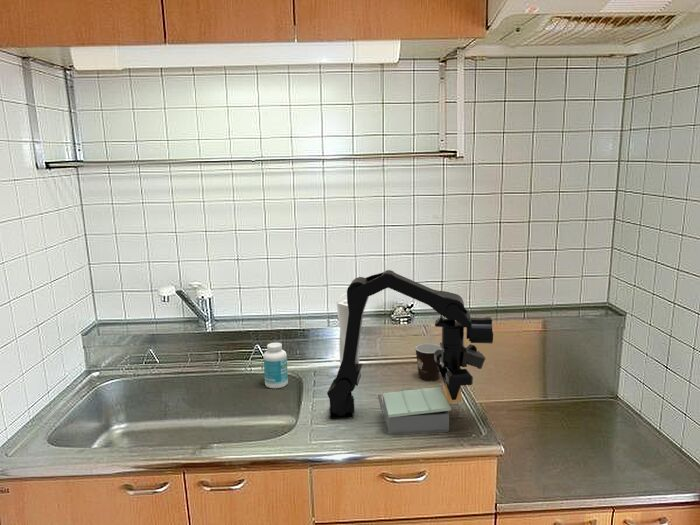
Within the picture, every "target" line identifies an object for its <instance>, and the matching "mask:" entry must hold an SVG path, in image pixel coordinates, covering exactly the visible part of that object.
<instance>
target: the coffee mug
mask: <svg viewBox="0 0 700 525" xmlns="http://www.w3.org/2000/svg"><path fill="white" fill-rule="evenodd" d="M414 349H415V355H416V364H417V372H418V378H419V379H420V380H421V381H424V382H434V381H437V380H439V376H440V371H439V369H438V367H437V365H439V364H440V360H439V361H438V362H436V361H435V360H434V353H435V352H436V351H437V350H442V348H441V347H440V344H434V343H420V344H418V345H416V346H415V348H414Z"/></svg>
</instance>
